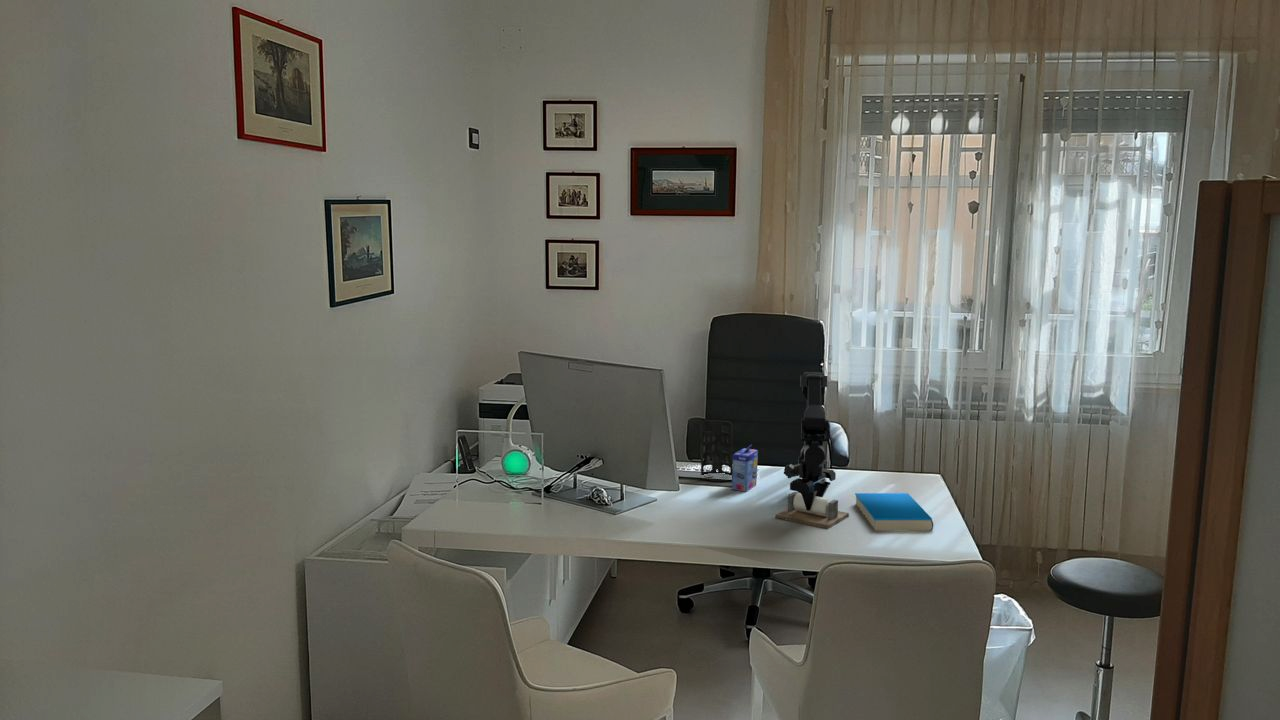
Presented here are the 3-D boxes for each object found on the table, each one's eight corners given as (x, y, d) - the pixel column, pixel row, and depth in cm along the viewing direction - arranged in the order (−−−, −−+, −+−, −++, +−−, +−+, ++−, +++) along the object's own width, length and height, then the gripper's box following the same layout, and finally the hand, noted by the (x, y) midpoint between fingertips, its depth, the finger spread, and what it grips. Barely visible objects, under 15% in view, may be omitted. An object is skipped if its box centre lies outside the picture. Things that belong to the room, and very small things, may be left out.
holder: (701, 482, 318) (701, 424, 315) (699, 476, 326) (699, 419, 323) (733, 482, 319) (734, 424, 316) (731, 475, 326) (731, 419, 323)
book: (874, 518, 269) (854, 492, 293) (874, 533, 269) (853, 505, 294) (934, 518, 269) (909, 491, 294) (934, 532, 270) (908, 505, 294)
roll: (801, 506, 286) (801, 491, 285) (831, 513, 280) (831, 496, 280) (793, 511, 282) (793, 495, 282) (823, 517, 276) (824, 500, 276)
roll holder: (797, 506, 292) (797, 487, 291) (848, 516, 282) (849, 496, 281) (775, 517, 281) (776, 498, 280) (828, 528, 271) (828, 508, 270)
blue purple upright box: (747, 492, 307) (747, 449, 304) (731, 490, 309) (731, 447, 307) (758, 484, 315) (758, 442, 313) (742, 482, 318) (743, 440, 316)
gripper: (803, 447, 291) (802, 496, 293) (774, 459, 276) (773, 511, 278) (837, 452, 284) (835, 502, 287) (808, 465, 270) (807, 518, 272)
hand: (812, 508), depth 281 cm, fingers closed on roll, 5 cm apart
